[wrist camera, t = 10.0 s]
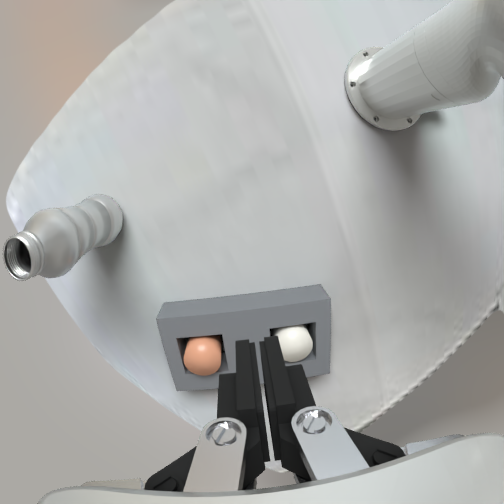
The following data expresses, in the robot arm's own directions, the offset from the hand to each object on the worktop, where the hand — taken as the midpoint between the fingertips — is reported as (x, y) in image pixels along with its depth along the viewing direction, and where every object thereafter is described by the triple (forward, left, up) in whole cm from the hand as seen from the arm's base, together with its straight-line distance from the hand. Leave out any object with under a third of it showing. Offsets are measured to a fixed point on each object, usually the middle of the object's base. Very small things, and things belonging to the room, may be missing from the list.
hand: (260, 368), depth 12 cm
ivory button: (-5, +15, -28) cm, 33 cm away
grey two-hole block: (+1, +15, -29) cm, 33 cm away
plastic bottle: (+18, -4, -29) cm, 35 cm away
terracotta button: (+7, +15, -28) cm, 32 cm away
